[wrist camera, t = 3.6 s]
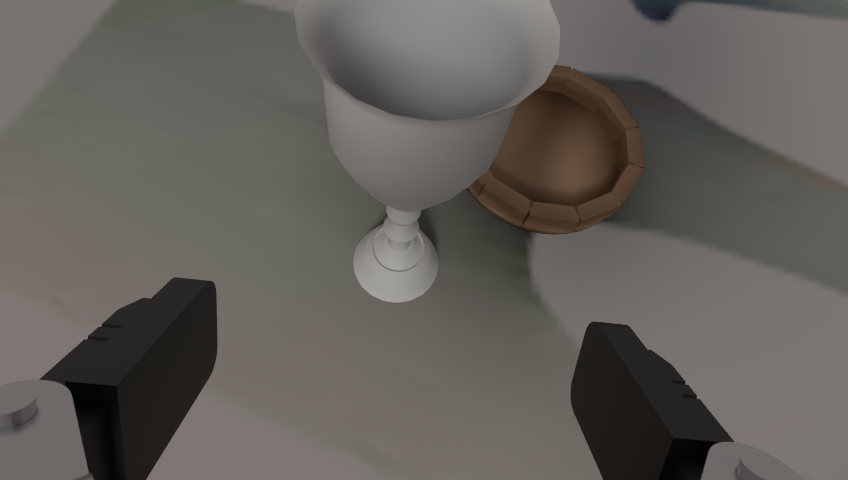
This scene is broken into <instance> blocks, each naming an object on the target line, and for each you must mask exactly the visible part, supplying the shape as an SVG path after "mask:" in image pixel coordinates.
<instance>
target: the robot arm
mask: <svg viewBox="0 0 848 480" xmlns="http://www.w3.org/2000/svg"><path fill="white" fill-rule="evenodd" d="M216 355H217V302H216V287H215V284H214V283H213V282H212V281H205V280H196V279H186V278H173V279H171V280H170V281H169V282H168V283H167V284H166V285H165V286H164V287H163V288H162V289H161V290H160V291H159V292H158V293H157V294H156V295H154V296H153V297H152V298H151V299H149V298H142V299H140V300H138V301H135V302H133V303H131V304H129V305H127V306H125V307H122V308H120V309H118V310H117V311H116V312H115V313H114V314H113V315H112V316H110V317H109V318H108V319H107V320H106V321H105V322H104V323H103V324H102V327H98V328H97V329H96V330H95V331H94V332H92V333H91V334H90V335H89V336H88V339H87V340H85V339H84V340H83V341H82V342H81V343H80V344H79V345H78V346H77V347H75V348H74V349H73V350H72V351H71V352H70V353H69V354H68V355H66V356H65V357H64V358H63V359H62V360H61V361H60V362H59V363H57V364H56V365H55V366H54V367H53V368H52V369H51V370H49V371H48V372H47V373H46V374H45V375H44V376H43V377H42V378H41V379H39V380H27V381H20V382H14V383H9V384H6V385H2V386H0V480H146V479H147V477H148V475H149V474H150V472H151V470H152V469H153V467H154V466H155V464H156V463H157V461H158V459H159V458H160V456H161V455H162V453H163V451H164V450H165V448H166V446H167V445H168V443H169V442H170V440H171V438H172V437H173V435H174V433H175V432H176V430H177V429H178V427H179V425H180V424H181V422H182V420H183V419H184V417H185V416H186V414H187V413H188V411H189V409H190V408H191V406H192V405H193V403H194V401H195V400H196V398H197V397H198V395H199V393H200V392H201V390H202V388H203V387H204V385H205V384H206V382H207V380H208V379H209V377H210V375H211V373H212V371H213V368H214V365H215V361H216ZM571 404H572V408H573V411H574V414H575V416H576V418H577V421H578V423H579V425H580V427H581V430H582V432H583V434H584V437H585V439H586V441H587V443H588V446H589V448H590V450H591V453H592V455H593V457H594V459H595V462H596V464H597V466H598V468H599V471H600V473H601V475H602V478H603V480H802V479H801V478H800V477H799V476H798V475H797V474H796V473H795V472H794V471H793V470H792V469H790V468H789V467H788V466H787V465H785V464H784V463H782V462H781V461H779V460H778V459H776V458H775V457H773V456H771V455H769V454H767V453H765V452H763V451H761V450H758V449H756V448H754V447H751V446H748V445H745V444H741V443H735V442H734V441H733V440H732V438H731V437H730V436H729V435H728V433H727V432H726V431H725V430H724V428H723V427H722V426H721V425H720V424H719V423H718V421H717V420H716V419H715V417H714V416H713V415H712V414H711V412H710V411H709V410H708V409H707V408H706V406H705V405H704V404H703V403H702V401H701V400H700V399H697V395H696V394H695V393H694V392H693V390H692V389H691V388H690V387H689V385H685V380H683V378H682V377H681V376H680V374H679V373H678V372H677V371H676V369H675V368H674V367H673V366H672V365H671V364H670V363H668V362H667V361H666V360H664V359H663V358H661V357H660V356H659V355H657V354H656V353H655V352H653V351H652V350H647V348H646V347H645V346H644V345H643V343H642V342H641V341H640V339H639V338H638V337H637V336H636V334H635V333H634V332H633V330H632V329H631V328H630V327H629V326H628V325H622V324H612V323H603V322H591V323H590V324H589V325H588V327H587V329H586V332H585V335H584V339H583V343H582V346H581V350H580V354H579V357H578V361H577V365H576V368H575V372H574V376H573V379H572V384H571Z"/></svg>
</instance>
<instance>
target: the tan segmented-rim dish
mask: <svg viewBox="0 0 848 480" xmlns="http://www.w3.org/2000/svg"><path fill="white" fill-rule="evenodd" d="M610 92H611V90H610V89H609V88H607V87H605V86H604V85H602V84H600V83H598V82H597V81H595V80H593V79H591V78H590V77H588V76H586V75H584V74H583V73H581V72H579V71H578V70H576V69H574V68H573V70H572V71H571V67H565V66H558V65H554V67H553V69H552V70H551V72H550V74H549V76H548V78H547V79H546V81H545V83H544V84H543V85H542V86H540V87H539V88H538V89H536V90H535V91H534V92H533V93H531V94H530V95H529V96H527V97H526V98H525V99H524V100H522V101H521V102H520V103H518V106H517V108H516V111H515V113H514V115H513V118H512V120H511V123H510V125H509V127H508V130H507V132H506V135H505V137H504V139H503V142H502V144H501V147H500V149H499V151H498V153H497V155H496V157H495V159H494V160H493V162H492V164H491V166H490V168H489V169H488V171H487V172H486V173H484V174H483V175H482V176H481V177H480V178H478V179H477V180H476V181H475V182H474V183H472V184H471V185H470V186H469V187H467V188H468V190H469V191H470V193H471V194H472V195H473V196H474V197H475V199H476V200H477V201H478V202H479V203H480V204H481V205H482V206H483V207H485V208H486V209H487V210H488V211H489V212H491V213H492V214H494V215H495V216H496V217H498V218H500V219H501V220H503V221H505V222H507V223H509V224H511V225H513V226H516V227H518V228H521V229H524V230H528V231H531V232H537V233H542V234H568V233H573V232H578V231H581V230H584V229H587V228H589V227H591V226H593V225H595V224H597V223H599V222H600V221H602V220H603V219H605V218H607V217H609V216H612V215H613V214H614V213H615V212H616V211H617V210H618V209H619V208H620V207H621V206H622V205H623V204H624V203H625V201H626V199H627V198H628V196H629V194H630V193H631V191H632V189H633V187H634V186H635V184H636V182H637V181H638V179H639V177H640V176H641V174H642V172H643V170H644V169H643V168H644V158H643V150H642V142H641V133H640V128H638V124H637V123H636V121H635V120H634V119H633V117H632V116H631V115H630V113H629V112H628V111H627V109H626V108H625V107H624V105H623V104H622V102H621V101H620V100H619V98H618V97H617V96H616V94H615V93H614V92H613V93H610ZM609 93H610V94H609Z"/></svg>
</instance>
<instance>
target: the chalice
mask: <svg viewBox="0 0 848 480" xmlns="http://www.w3.org/2000/svg"><path fill="white" fill-rule="evenodd" d="M294 14H295V21H296V28H297V36H298V42H299V44H300V45H301V47H302V49H303V50H304V52H305V53H306V55H307V56H308V58H309V59H310V61H311V63H312V64H313V66H314V67H315V69H316V70H317V72H318V73H319V74H320V75H321V76H322V81H323V89H324V98H325V107H326V115H327V124H328V131H329V137H330V144H331V147H332V149H333V150H334V152H335V153H336V155H337V157H338V158H339V160H340V162H341V163H342V165H343V167H344V168H345V169H346V170H347V171H348V173H349V174H350V175H351V176H352V177H353V179H354V180H355V181H356V182H357V184H358V185H359V186H361V187H362V188H363V189H364V190H365V191H367V192H368V193H369V194H370V195H371V196H373V197H374V198H375V199H377V200H379V201H380V202H382V203H384V204H385V205H387V208H386V211H387V215H388V217H387V218H386V220H385V221H384V224H382V225H380V226H378V227H377V228H375V229H373V230H371V231H370V232H369V233H368V234H367V235H365V236H364V237H363V238H362V239H361V241H360V243H359V244H358V246H357V248H356V249H355V254H354V259H353V265H354V272H355V275H356V277H357V279H358V281H359V283H360V285H361V286H362V287H363V288H364V289H365V290H366V291H367V292H368V293H369V294H370V295H372V296H374V297H376V298H378V299H380V300H382V301H388V302H394V303H399V302H406V301H411V300H413V299H415V298H417V297H419V296H421V295H423V294H424V293H425V292H426V291H427V290H428V289H429V288H430V287H431V286H432V284H433V282H434V280H435V278H436V276H437V273H438V265H439V261H438V256H437V251H436V249H435V247H434V246H433V244H432V242H431V241H430V239H429V238H428V237H427V236H426V235H425V234H424V233H423V232H422V231H421V230H420V229H419V224H418V221H417V219H418V218H419V216H420V215H421V210H423V209H426V208H429V207H432V206H435V205H437V204H440V203H443V202H445V201H448V200H450V199H452V198H453V197H455V196H456V195H457V194H459V193H460V192H462V191H463V190H464V189H466V188H467V187H469V186H470V185H471V184H472V183H474V182H475V181H476V180H477V179H478V178H480V177H481V176H482V175H483V174H484V173H486V172H487V171H488V169H489V168H490V166H491V164H492V162H493V160H494V159H495V157H496V155H497V153H498V151H499V149H500V147H501V144H502V142H503V139H504V137H505V135H506V132H507V130H508V127H509V125H510V123H511V120H512V118H513V115H514V113H515V111H516V108H517V106H518V103H520V102H521V101H522V100H524V99H525V98H526V97H527V96H529V95H530V94H531V93H533V92H534V91H535V90H536V89H538V88H539V87H540V86H542V85H543V84H544V83H545V81H546V79H547V78H548V76H549V74H550V72H551V70H552V69H553V67H554V65H555V63H556V61H557V60H558V58H559V49H560V48H559V47H560V26H559V23H558V20H557V18H556V15H555V13H554V11H553V8H552V6H551V3H550V1H549V0H298V1H297V4H296V7H295V10H294Z"/></svg>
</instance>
